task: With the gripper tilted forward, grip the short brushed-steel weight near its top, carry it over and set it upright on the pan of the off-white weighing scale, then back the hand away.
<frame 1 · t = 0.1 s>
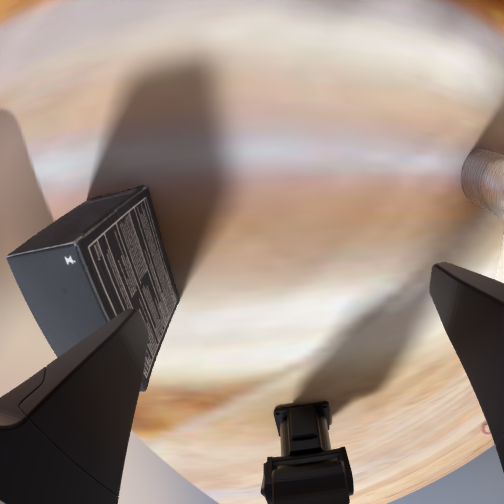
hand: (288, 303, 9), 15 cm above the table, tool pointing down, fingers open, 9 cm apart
mug: (500, 400, 36), on the table
small box: (131, 251, 24), on the table
steel weight: (481, 176, 21), on the table
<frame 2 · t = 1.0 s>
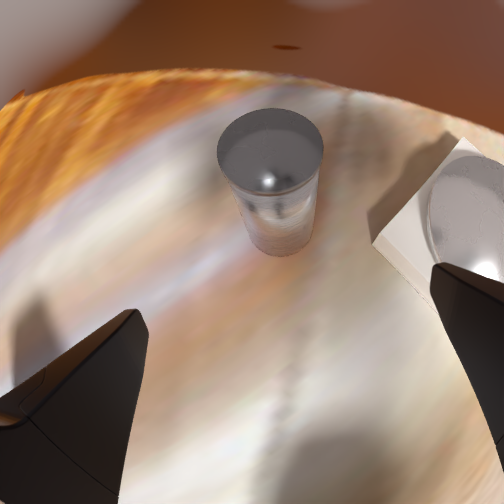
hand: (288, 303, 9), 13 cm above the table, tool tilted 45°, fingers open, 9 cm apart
scale pan: (493, 232, 19), point 2 cm above the table, slide at -0.4 cm
steel weight: (280, 225, 24), on the table
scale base: (475, 248, 21), on the table
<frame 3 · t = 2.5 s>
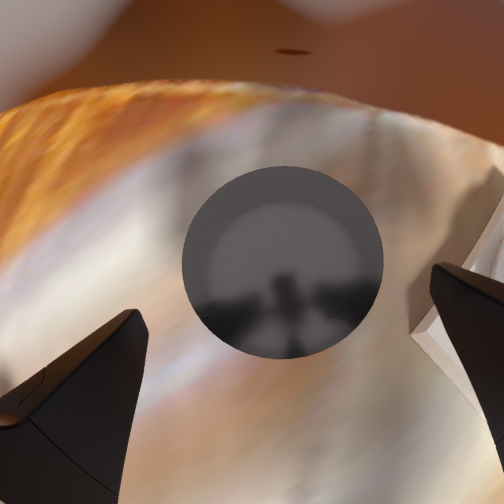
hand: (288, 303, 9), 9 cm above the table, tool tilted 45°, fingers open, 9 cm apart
steel weight: (289, 311, 17), on the table
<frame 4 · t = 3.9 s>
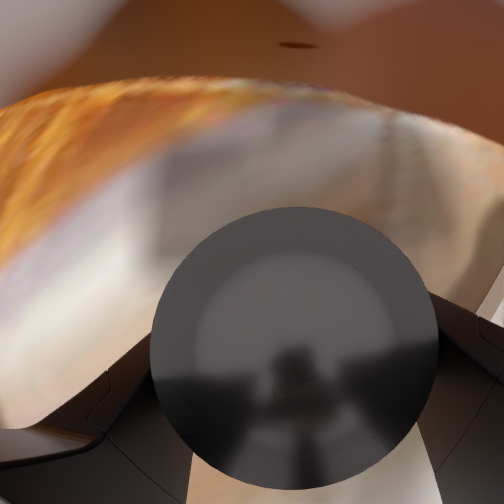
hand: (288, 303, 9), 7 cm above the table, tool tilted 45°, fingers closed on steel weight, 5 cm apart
steel weight: (295, 352, 14), on the table, touching gripper
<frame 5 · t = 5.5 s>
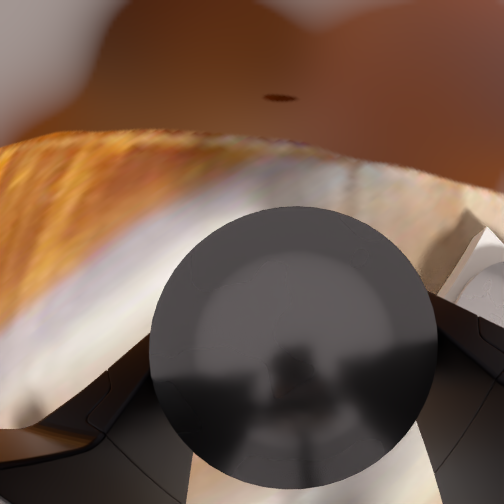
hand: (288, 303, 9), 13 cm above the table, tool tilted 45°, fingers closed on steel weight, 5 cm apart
steel weight: (294, 352, 14), point 7 cm above the table, touching gripper
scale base: (485, 354, 18), on the table
when the fingers open (12 cm above the table, at t = 7.3 s): steel weight drops 2 cm, resting on scale pan.
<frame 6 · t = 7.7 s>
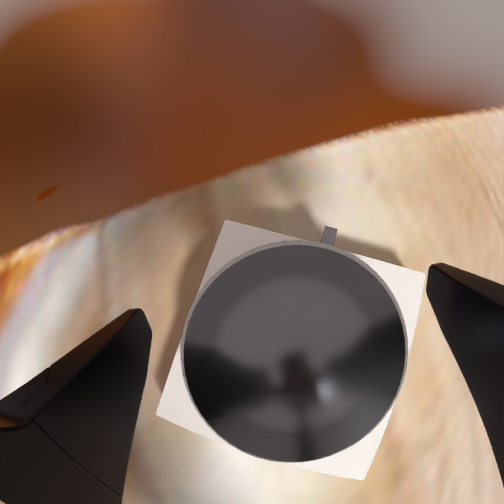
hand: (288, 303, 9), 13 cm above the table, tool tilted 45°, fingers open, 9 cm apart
scale pan: (298, 341, 18), point 2 cm above the table, slide at -0.5 cm, touching steel weight
steel weight: (295, 354, 16), point 4 cm above the table, touching scale pan
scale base: (295, 353, 20), on the table
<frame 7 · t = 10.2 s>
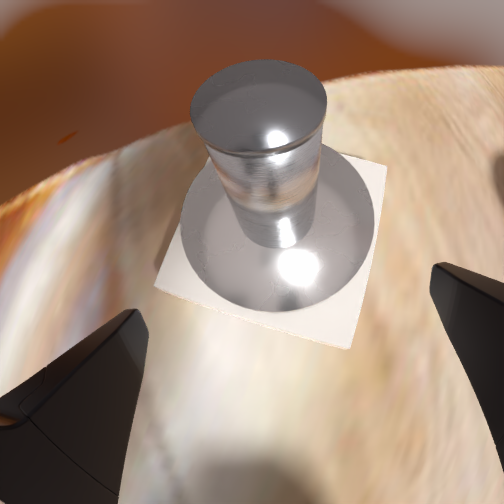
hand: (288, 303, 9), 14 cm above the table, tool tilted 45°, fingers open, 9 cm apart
scale pan: (280, 213, 22), point 2 cm above the table, slide at -0.5 cm, touching steel weight
steel weight: (276, 211, 20), point 4 cm above the table, touching scale pan
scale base: (279, 234, 24), on the table
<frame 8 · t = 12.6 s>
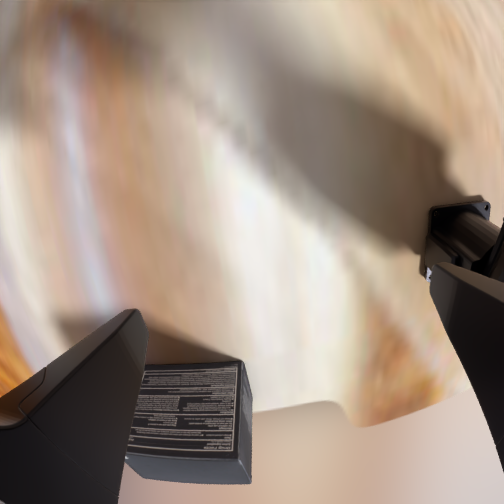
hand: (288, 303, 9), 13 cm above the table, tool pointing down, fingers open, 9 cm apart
small box: (198, 382, 29), on the table
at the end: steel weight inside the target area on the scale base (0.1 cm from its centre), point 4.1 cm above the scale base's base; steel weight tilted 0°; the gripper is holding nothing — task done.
